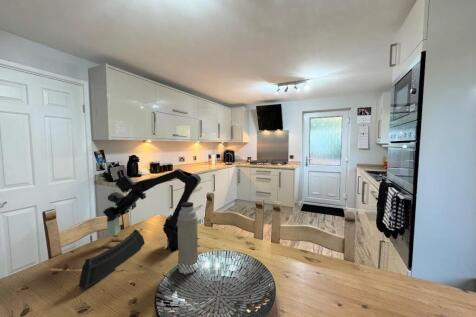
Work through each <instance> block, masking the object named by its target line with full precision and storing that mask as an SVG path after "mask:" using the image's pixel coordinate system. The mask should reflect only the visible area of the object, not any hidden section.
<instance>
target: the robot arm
mask: <svg viewBox="0 0 476 317" xmlns="http://www.w3.org/2000/svg"><path fill="white" fill-rule="evenodd" d="M174 179H177V180H178V181H180V182H182V183H184V189H183V190H184V191H183V192H182V195H181V197H180V199H179V201H178V203H177V205H176V208H175V209H174V211H173V213H172V214H169V215H168V216H167V217H166V219H165V221H164V224H163V225H162V226H163V227H162V230H163V232H164V234H165V236H166V243H167V244H166V246H167V248H168V250H170V252H174V251H175V252H176V251H178V216H179V212H180V211H181V207H182V206H181V204H182V203H185V202H190V201H189V200H190V198H191V196H192V194H193V192H195V190H196V189H197V188H198V187H199V185H200V183H201V181H202V178H201V176H200V175H199V174H196V173H192V172H188V171H185V170H183V169H181V168H178V169H174V170H173V171H169V172H168V173H165V174H162V175H159V176H156V177H149V178H144V179H141V180H139V181H136V182H134V181H133V180H132V179H131V178H130V176H128V175H124V176H123V177H121V178H120V179H118V180H117V181H115V184H114V185H115V186H116V187H117V188H118V189H119V190H120V191H121V192H122V193H126V195H124V194H121V193H119V192H117V191H114V192H111V193H110V194H109V195H108V196H107V200H108V201H109V202H111V203H115V204H114V205H115V207H114V206H109V207H107V208H105V209H104V210H103V212H102V213H103V214H104V215H105V216H106V222H107V221H108V222H110V221H114V220H115V219H117V218H119V219H120V218H121V216H123V215H126V214H128V213H130V210H131V211H133V210H134V209H135V208H137V202H138V200H139V199H140V200H146V198H147V195H146V192H147V191H150V189H151V190H152V188H154V187H156V186H158V185H159V184H160V185H161V184H163V183H166V182H169V181H172V180H174ZM107 217H108V219H107Z"/></svg>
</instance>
